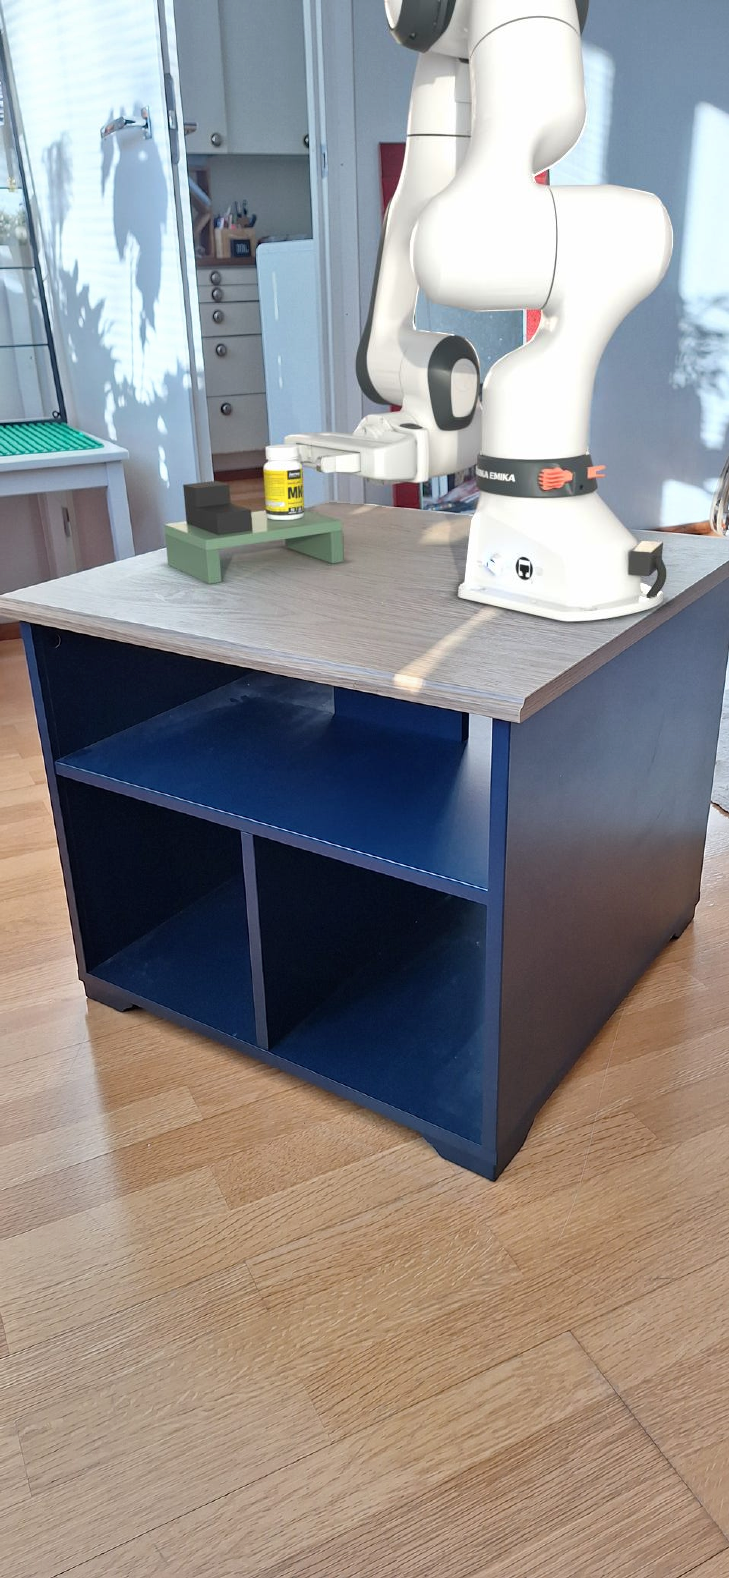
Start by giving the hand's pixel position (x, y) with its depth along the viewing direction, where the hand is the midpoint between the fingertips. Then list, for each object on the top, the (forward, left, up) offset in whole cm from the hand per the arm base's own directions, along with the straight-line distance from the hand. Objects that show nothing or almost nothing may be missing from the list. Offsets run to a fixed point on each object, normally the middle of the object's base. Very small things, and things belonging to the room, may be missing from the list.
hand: (296, 461), depth 135 cm
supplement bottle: (0, +2, -7) cm, 7 cm away
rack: (0, +7, -11) cm, 13 cm away
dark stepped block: (0, +11, -6) cm, 13 cm away
